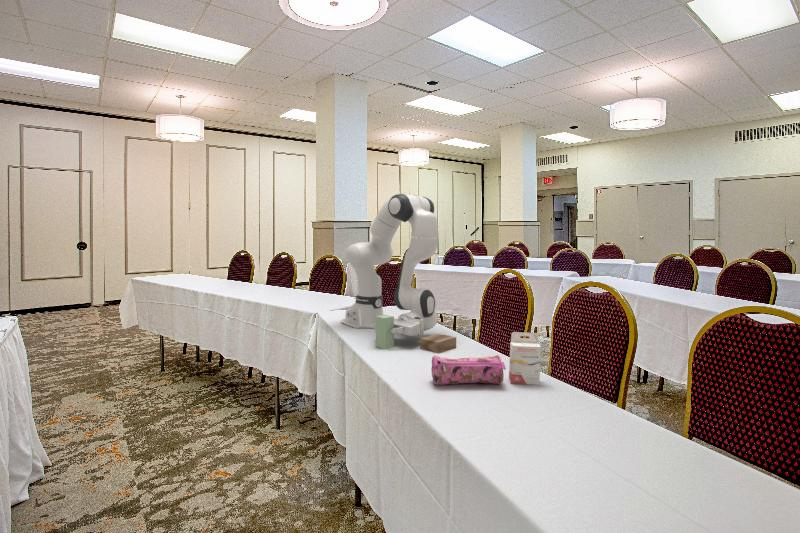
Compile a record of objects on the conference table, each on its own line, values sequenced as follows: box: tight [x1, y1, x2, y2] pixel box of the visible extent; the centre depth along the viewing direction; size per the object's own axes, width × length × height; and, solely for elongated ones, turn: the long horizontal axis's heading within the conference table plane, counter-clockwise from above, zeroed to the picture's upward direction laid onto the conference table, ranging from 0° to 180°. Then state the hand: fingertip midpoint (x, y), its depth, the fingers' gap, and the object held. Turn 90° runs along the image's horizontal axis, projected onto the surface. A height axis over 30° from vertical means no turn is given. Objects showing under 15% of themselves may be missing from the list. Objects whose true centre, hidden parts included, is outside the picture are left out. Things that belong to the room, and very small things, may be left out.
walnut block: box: [419, 333, 457, 354], centre depth 181 cm, size 9×11×4 cm
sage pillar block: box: [375, 314, 395, 350], centre depth 183 cm, size 5×5×12 cm
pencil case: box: [430, 354, 507, 386], centre depth 141 cm, size 21×9×9 cm, turn 91°
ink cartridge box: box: [508, 331, 542, 386], centre depth 143 cm, size 9×5×15 cm, turn 84°
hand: (383, 329), depth 182 cm, fingers open, 8 cm apart
